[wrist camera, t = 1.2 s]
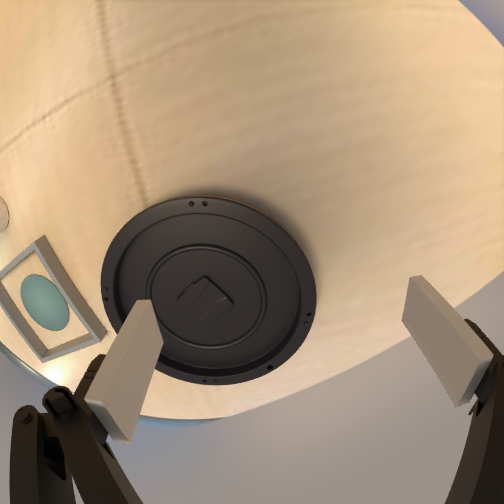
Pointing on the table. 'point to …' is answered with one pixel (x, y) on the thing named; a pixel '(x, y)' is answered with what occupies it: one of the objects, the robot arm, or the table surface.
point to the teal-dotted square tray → (68, 292)
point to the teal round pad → (44, 302)
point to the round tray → (212, 287)
